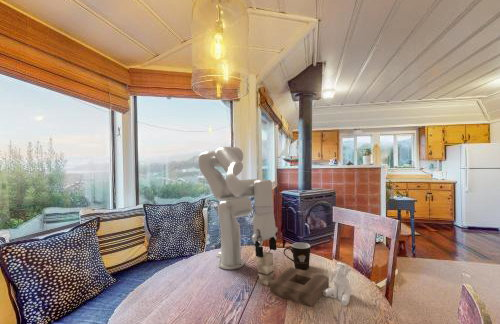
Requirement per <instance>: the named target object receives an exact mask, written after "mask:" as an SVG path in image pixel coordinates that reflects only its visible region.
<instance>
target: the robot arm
mask: <svg viewBox="0 0 500 324" xmlns="http://www.w3.org/2000/svg"><path fill="white" fill-rule="evenodd" d="M243 160H244V152H243V150H242V149H241V148H240V147H237V146H221V147H219V148H217V149H216V150H209V151H207V150H206V151H203V152H201V153H200V154H199V156H198V162H197V163H198V168H199V170H200V172H201V174H202V176H203V177H204V178H205V180H206V182H207V184H208V186H209V188H210V190H211V192H212V194H213V196H214V198H215V199H216V200H217V201H219V203H218V205H217V213H218V219H219V226H220V229H219V230H220V251H219V252H218V254H216V258H217V259H219V261H218V264H217V265H218V267H219V268H220V269H223V270H226V271H227V270H228V271H229V270H237V269H240V268H242V267H244V266H245V264H246V263H245V260H244V259H243V258H242V243H241V241H242V239H241V237H242V236H241V227H240V226H241V225H240V224H239V222H238V221H237V219H236V218H241V217H246V216H249V215H250V214H251V213H252V211H253V203H252V201H251V199H250V198H254V215H253V222H252V223H253V228H252V229H253V230H252V231H253V235H251V241H252V244H253V246H254V247H255V257H257V258H258V257H263V252H264V247H263V244H264V241H267V240H268V246H269V247H268V248H269V250H272V251H276V250H277V239H278V237H277V236H278V229H279V227H277V226H276V219H275V214H274V211H275V209H274V194H273V193H274V192H273V182H272V181H271V180H270V179H258V178H254V179H253V178H251V179H250V178H249V179H239V178H238V175H240V174H241V172H242V171H243V168H244V165H243ZM220 167H221V168H222V169H223V170H224V171H225V173H226V174H225V177H224V175H223V173H222V172H221V171H220V170H218V169H217V168H220Z"/></svg>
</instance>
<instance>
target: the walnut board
mask: <svg viewBox="0 0 500 324" xmlns="http://www.w3.org/2000/svg"><path fill="white" fill-rule="evenodd" d="M329 278H330V277H329V276H327V275H324V274H321V273H320V274H319V273H316V272H311V271H308V270H300V269H296V268H295V267H291V266H290V267H289V268H288V269H287V270H285V271H283V273H281V274H279V276H277V277H276V278H274V279H273V281H272V282H271V284H270V294H272V295H276V296H278V297H281V298H285V299H286V300H290V301H293V302H295V303H299V304H302V305H305V306H307V307H310V308H312V307H313V306H314V305H316V303H317V302H318V300H319V299H320V298H321V297H323V296H324V295H323V291H324V290H326V289H327V288H330V286H329V283H330V282H329V281H330V280H329Z"/></svg>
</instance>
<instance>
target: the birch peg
mask: <svg viewBox="0 0 500 324" xmlns="http://www.w3.org/2000/svg"><path fill="white" fill-rule="evenodd" d="M257 267H258V268H257V269H258V270H257V274H258V277H259V284H261V285H264V286H269V285H271V282H272V281H273V280H274V279H273V276H274V272H275V271H274V253H273V252H268V251H264V250H263V257H257Z"/></svg>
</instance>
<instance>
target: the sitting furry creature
mask: <svg viewBox="0 0 500 324" xmlns="http://www.w3.org/2000/svg"><path fill="white" fill-rule="evenodd" d="M334 269H335V271H334V272H335V276H334V277H333V280H332V282H333V284H334V285H333V286H332V287H329V288H327V289H326V290H324V291H323V295H322V296H324V297H325V298H328V297H330V298H332V299H337V300H338V301H339V302H341V304H342V306H343V307H347V306H348V305H349V303H350V299H351V295H352V289H351V285H350V283H349V279H348V278H347V276H348V274H349V273H350V272H352V271H351V270H352V268H351V267H349V266H348V265H347V264H346V263H343V262H338V261H337V263H336V264H335V267H334Z"/></svg>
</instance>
